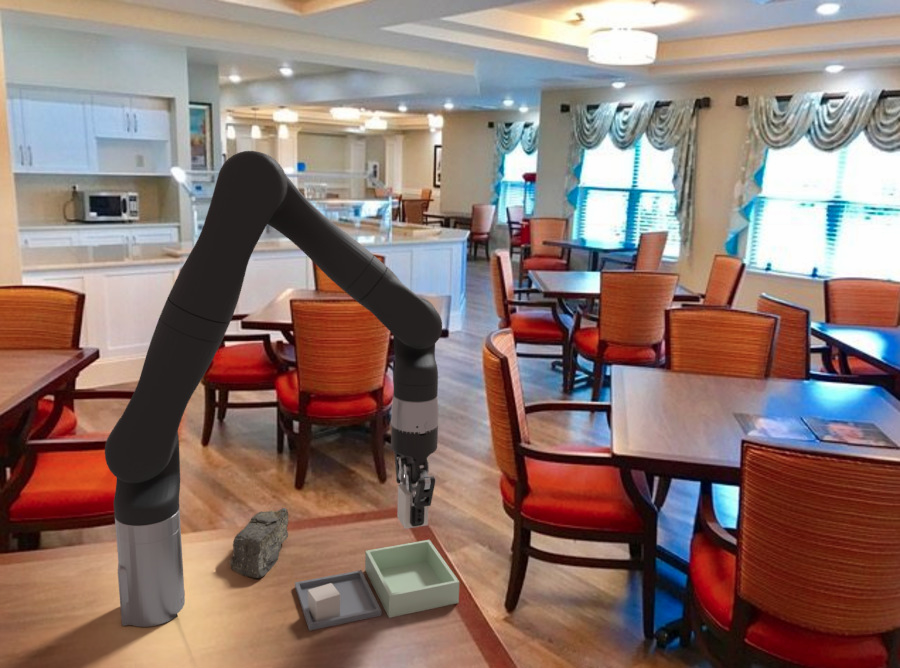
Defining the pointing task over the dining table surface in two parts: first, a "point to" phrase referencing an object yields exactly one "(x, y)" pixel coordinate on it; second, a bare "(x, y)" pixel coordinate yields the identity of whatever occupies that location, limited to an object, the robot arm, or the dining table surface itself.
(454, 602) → the green bin
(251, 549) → the rock
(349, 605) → the slate tray
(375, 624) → the dining table surface
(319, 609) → the smooth off-white cube
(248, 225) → the robot arm
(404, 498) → the off-white rectangular block
